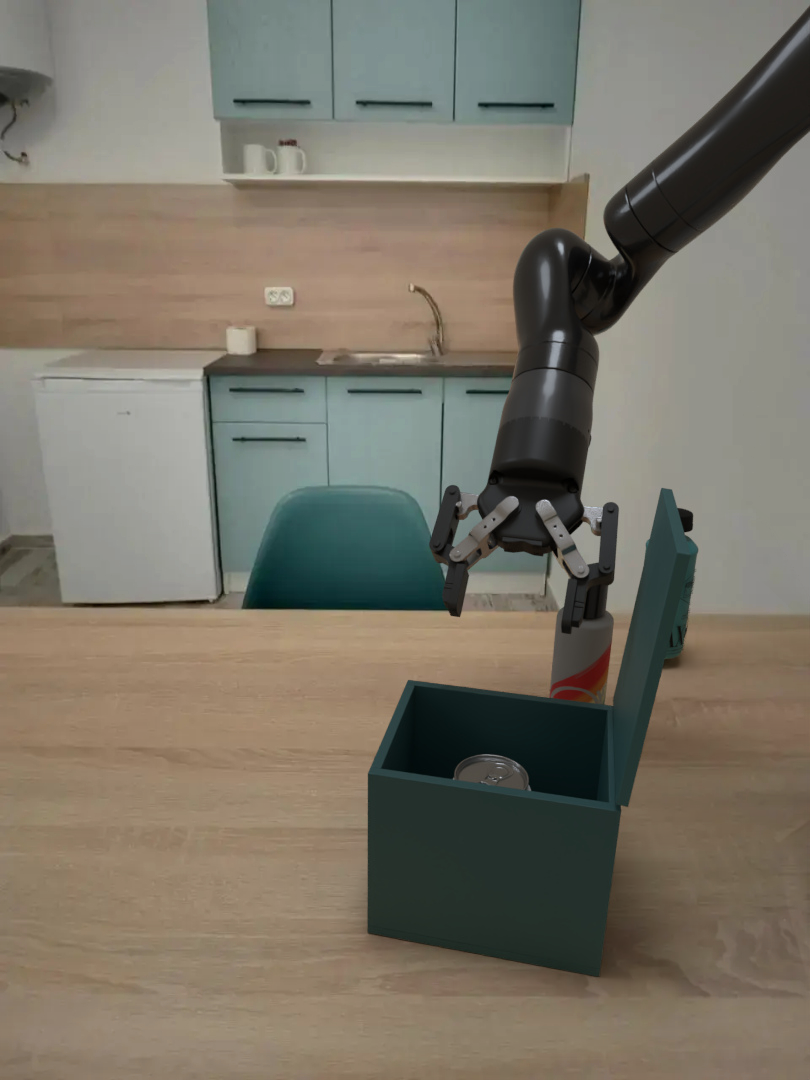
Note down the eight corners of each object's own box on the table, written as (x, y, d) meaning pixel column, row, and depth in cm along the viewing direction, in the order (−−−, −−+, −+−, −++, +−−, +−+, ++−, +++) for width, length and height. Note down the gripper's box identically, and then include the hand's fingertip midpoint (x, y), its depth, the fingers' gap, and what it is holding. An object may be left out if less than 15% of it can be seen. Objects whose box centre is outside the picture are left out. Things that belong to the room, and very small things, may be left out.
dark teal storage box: (367, 933, 64) (367, 773, 59) (404, 819, 77) (407, 679, 71) (599, 977, 61) (621, 811, 56) (599, 850, 73) (617, 705, 68)
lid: (677, 552, 49) (691, 554, 49) (661, 487, 61) (672, 489, 61) (615, 804, 56) (628, 807, 55) (612, 700, 68) (622, 702, 68)
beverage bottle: (628, 665, 105) (647, 515, 98) (632, 642, 111) (650, 499, 104) (682, 674, 103) (705, 522, 96) (683, 650, 109) (705, 505, 102)
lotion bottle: (573, 765, 85) (592, 586, 78) (534, 739, 89) (548, 567, 82) (610, 746, 88) (632, 573, 81) (571, 722, 92) (588, 555, 85)
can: (537, 894, 67) (549, 770, 63) (499, 946, 62) (509, 816, 58) (468, 860, 71) (475, 741, 66) (427, 908, 66) (431, 782, 61)
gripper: (452, 406, 67) (408, 590, 61) (634, 420, 63) (607, 618, 57) (464, 454, 74) (426, 624, 67) (629, 470, 70) (604, 652, 64)
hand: (509, 621), depth 62 cm, fingers open, 8 cm apart
